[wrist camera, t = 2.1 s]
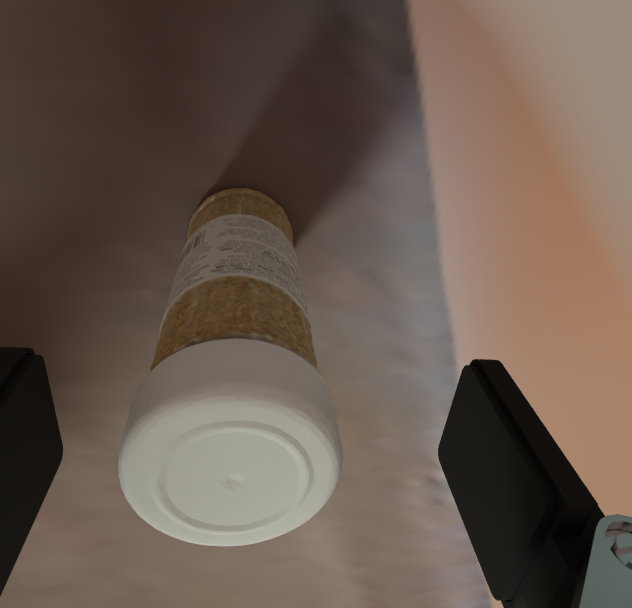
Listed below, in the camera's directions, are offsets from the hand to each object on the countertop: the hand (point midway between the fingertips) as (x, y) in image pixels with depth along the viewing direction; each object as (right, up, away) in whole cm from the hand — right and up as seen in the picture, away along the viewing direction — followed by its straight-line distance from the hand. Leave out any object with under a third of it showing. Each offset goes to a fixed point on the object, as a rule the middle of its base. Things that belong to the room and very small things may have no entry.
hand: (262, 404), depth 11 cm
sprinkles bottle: (-2, +5, +10) cm, 12 cm away
